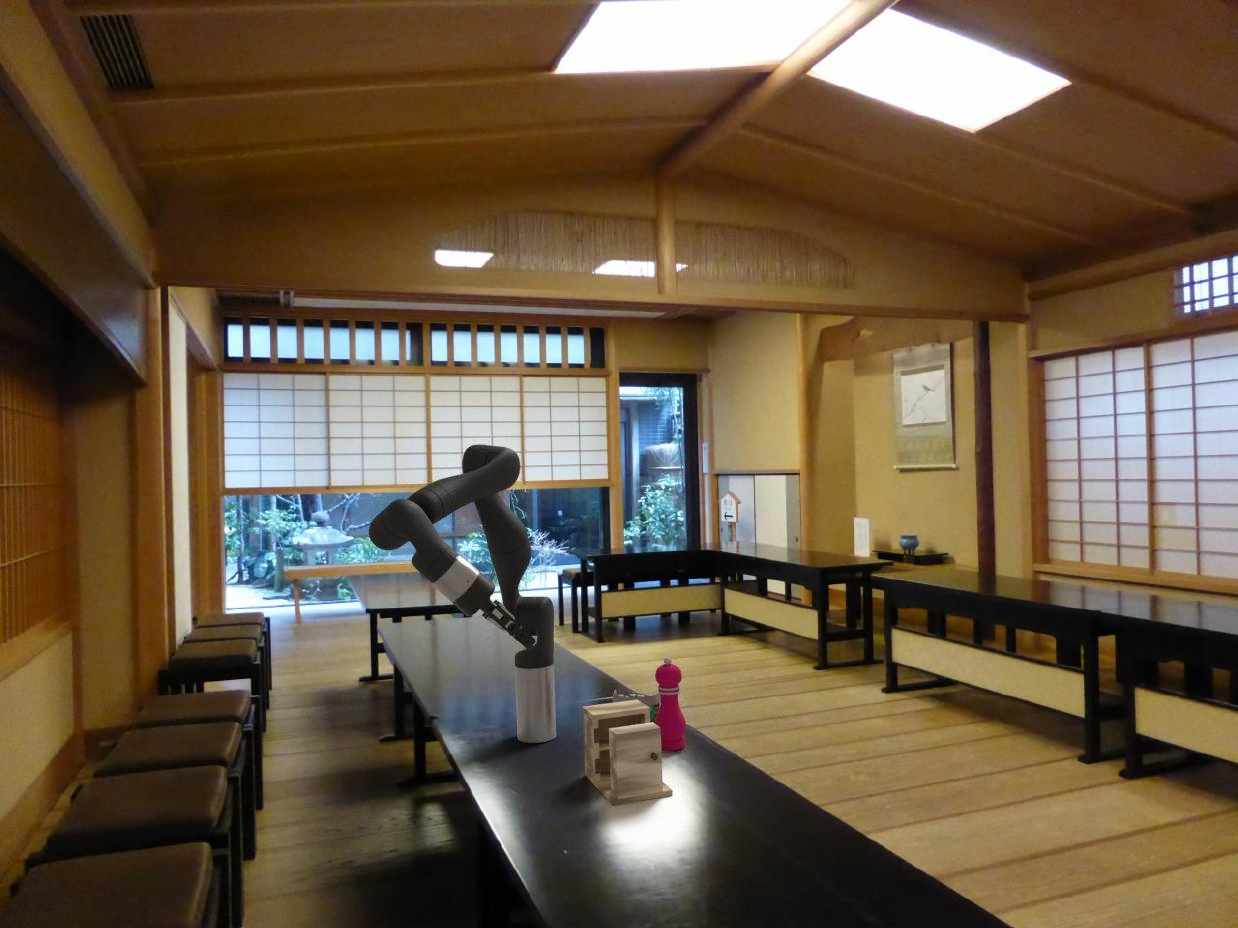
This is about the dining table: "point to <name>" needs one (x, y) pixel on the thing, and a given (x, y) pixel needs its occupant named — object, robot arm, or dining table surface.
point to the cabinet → (598, 748)
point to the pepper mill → (670, 707)
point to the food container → (649, 701)
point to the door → (635, 760)
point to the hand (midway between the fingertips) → (526, 641)
